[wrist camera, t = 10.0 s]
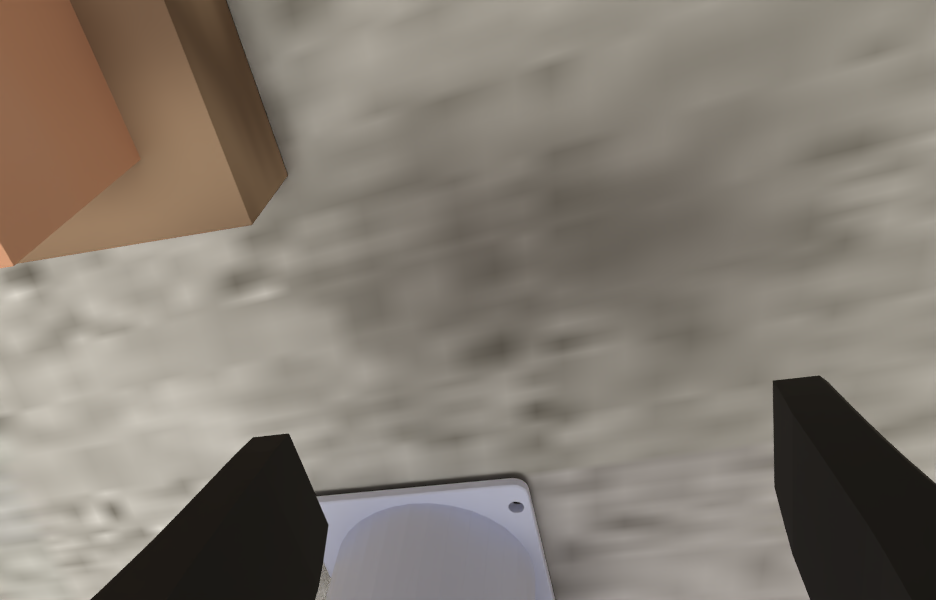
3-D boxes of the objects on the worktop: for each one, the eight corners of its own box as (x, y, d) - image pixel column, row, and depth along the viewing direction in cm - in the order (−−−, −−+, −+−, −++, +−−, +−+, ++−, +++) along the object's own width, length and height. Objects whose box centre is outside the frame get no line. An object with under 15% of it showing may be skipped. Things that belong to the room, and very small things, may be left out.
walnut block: (288, 175, 21) (251, 224, 18) (-1, 226, 23) (-70, 277, 20) (149, -217, 16) (76, -223, 14) (-199, -118, 18) (-320, -107, 16)
